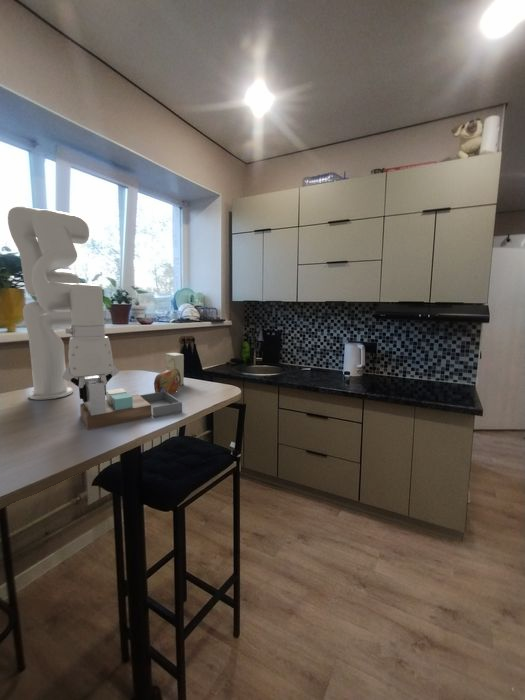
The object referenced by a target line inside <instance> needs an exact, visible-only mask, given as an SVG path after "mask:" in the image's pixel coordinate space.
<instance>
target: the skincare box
mask: <svg viewBox="0 0 525 700" xmlns="http://www.w3.org/2000/svg"><path fill="white" fill-rule="evenodd" d="M184 361H185V356H184V354H183V353H180V352H168V353H167V352H166V353H165V371H166V370H169V369H177V370H178V371H179V373H180V376H181V383H180V386H183V385H182V384H184V383H185V382H184V378H185V375H184V371H185V369H184V368H185V367H184V366H185V365H184V364H185V363H184Z"/></svg>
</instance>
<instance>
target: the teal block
mask: <svg viewBox="0 0 525 700" xmlns="http://www.w3.org/2000/svg"><path fill="white" fill-rule="evenodd" d="M132 396H133V395H131V394H130V393H129V392H127V393H124V394H117V395H111V406H112V407H113V408H114V410H121V409H127V408H132V407H133V400H132Z"/></svg>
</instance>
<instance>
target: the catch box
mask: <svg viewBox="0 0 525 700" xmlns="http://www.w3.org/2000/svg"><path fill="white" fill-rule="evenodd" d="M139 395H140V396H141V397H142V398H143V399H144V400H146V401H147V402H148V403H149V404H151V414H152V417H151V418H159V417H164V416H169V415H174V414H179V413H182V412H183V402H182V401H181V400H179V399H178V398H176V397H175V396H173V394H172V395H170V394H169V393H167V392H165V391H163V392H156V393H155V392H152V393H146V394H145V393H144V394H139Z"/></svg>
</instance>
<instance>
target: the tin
mask: <svg viewBox="0 0 525 700" xmlns="http://www.w3.org/2000/svg"><path fill="white" fill-rule="evenodd" d="M180 383H181V376H180V373H179V371H178V370H177V369H169V370H166V369H165V371H162V372H160V373H158V374H157V375H156V376H155V378H154V382H153V385H154V386H153V387H154V393H156V392H163V391H165V392H167V393H169V394H170V395H172V396H173V393H174V394H175V393H177V392H178V391H179V390H180V386H181V385H180ZM176 391H177V392H176Z"/></svg>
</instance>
